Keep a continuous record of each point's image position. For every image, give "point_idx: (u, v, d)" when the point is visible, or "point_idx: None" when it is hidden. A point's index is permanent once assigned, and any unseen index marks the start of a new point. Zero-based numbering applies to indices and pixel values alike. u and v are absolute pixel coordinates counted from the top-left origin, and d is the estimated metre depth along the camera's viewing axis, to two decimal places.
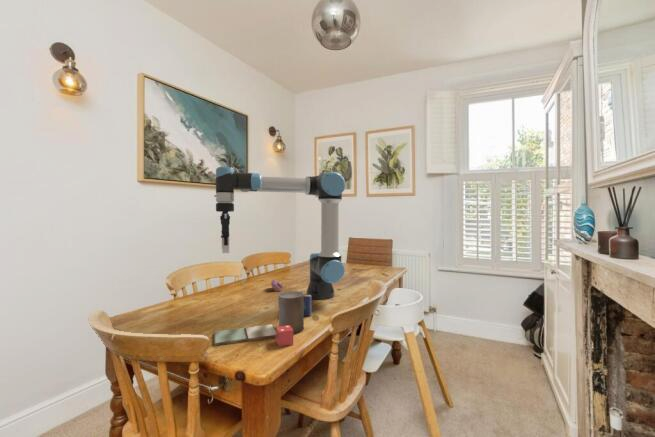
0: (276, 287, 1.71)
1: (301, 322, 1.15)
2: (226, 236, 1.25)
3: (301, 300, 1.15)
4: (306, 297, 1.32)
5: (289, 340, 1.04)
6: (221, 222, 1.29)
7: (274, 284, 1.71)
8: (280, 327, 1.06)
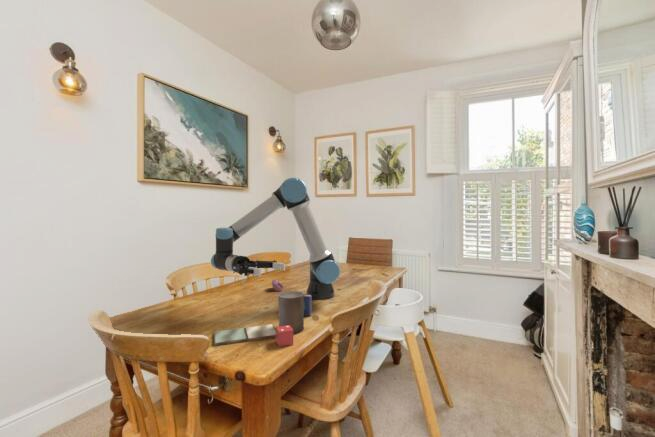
0: (277, 287, 1.71)
1: (301, 322, 1.15)
2: (242, 270, 1.19)
3: (301, 300, 1.15)
4: (306, 297, 1.32)
5: (289, 340, 1.04)
6: None
7: (275, 284, 1.71)
8: (280, 327, 1.06)
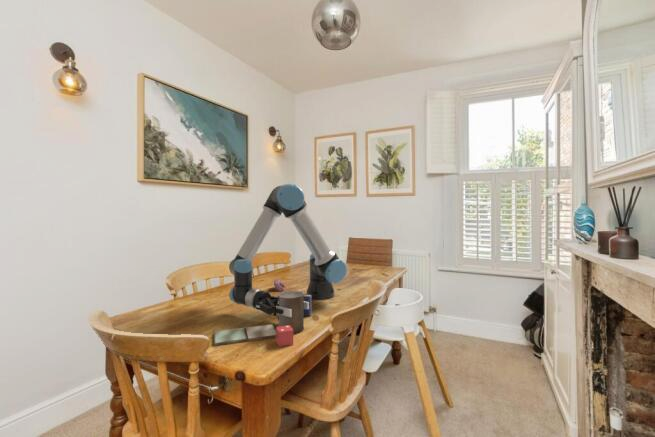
0: (279, 287, 1.71)
1: (301, 322, 1.15)
2: (271, 310, 1.13)
3: (301, 300, 1.15)
4: (306, 297, 1.32)
5: (289, 340, 1.04)
6: None
7: (277, 284, 1.72)
8: (280, 327, 1.06)
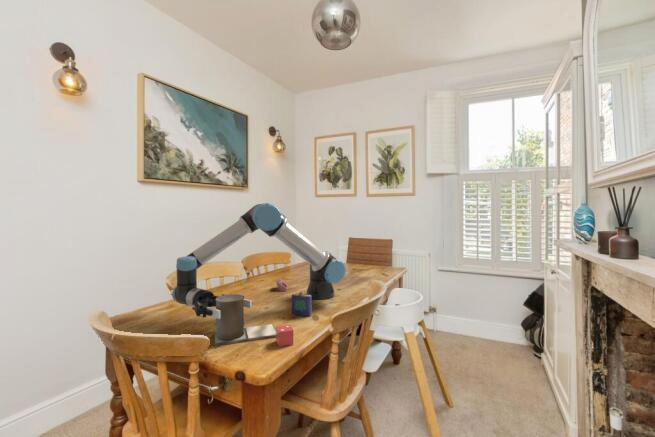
0: (281, 287, 1.72)
1: (239, 327, 1.07)
2: (200, 312, 1.04)
3: (239, 304, 1.07)
4: (306, 297, 1.32)
5: (289, 340, 1.04)
6: None
7: (279, 284, 1.72)
8: (280, 327, 1.06)
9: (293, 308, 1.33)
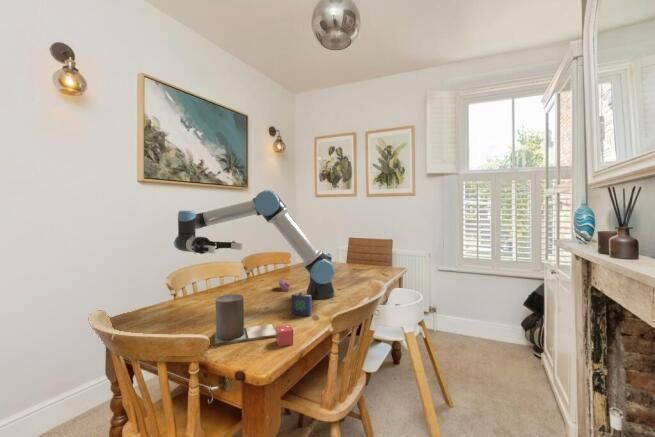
0: (284, 287, 1.72)
1: (239, 327, 1.07)
2: (198, 248, 1.24)
3: (239, 304, 1.07)
4: (306, 297, 1.32)
5: (289, 340, 1.04)
6: None
7: (282, 284, 1.72)
8: (280, 327, 1.06)
9: (293, 308, 1.33)
